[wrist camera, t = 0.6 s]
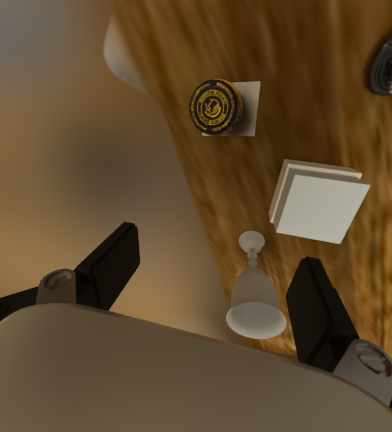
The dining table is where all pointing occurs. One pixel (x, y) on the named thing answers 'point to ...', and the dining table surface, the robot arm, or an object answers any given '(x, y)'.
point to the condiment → (225, 108)
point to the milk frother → (382, 70)
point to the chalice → (254, 296)
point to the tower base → (306, 166)
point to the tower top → (318, 204)
